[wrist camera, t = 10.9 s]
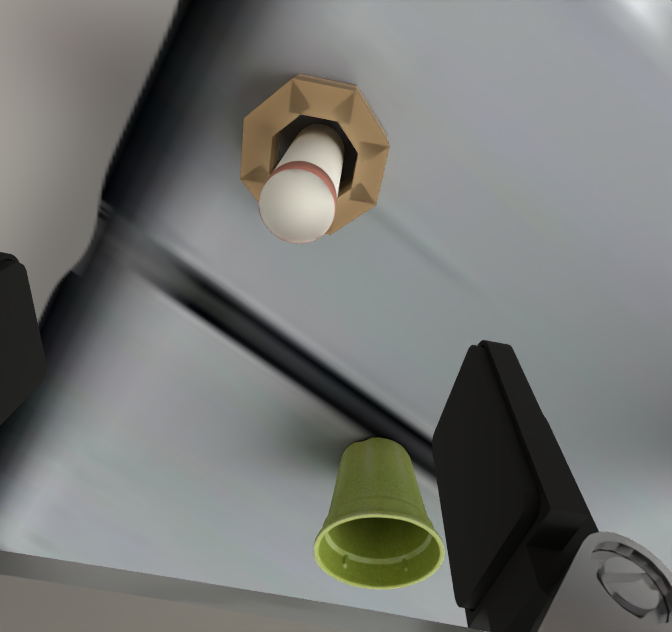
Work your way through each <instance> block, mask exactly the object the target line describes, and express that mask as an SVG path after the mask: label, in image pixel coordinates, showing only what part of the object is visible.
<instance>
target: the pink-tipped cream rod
mask: <svg viewBox="0 0 672 632" xmlns="http://www.w3.org/2000/svg"><path fill="white" fill-rule="evenodd" d="M343 159H344V145H343V142H342V139H341V138H340V136H339V135H338V133H337V132H336V131H335V130H333V129H332V128H330V127H328V126H326V125H322V124H314V125H310V126H307V127H305V128H304V129H303V130H301V131H300V133H299V134H298V135H297V137H296V138H295V140H294V141H293V143H292V144H291V146H290V147H289V149H288V150H287V152H286V153H285V155H284V156H283V158H282V159H281V161H280V162H279V164H278V165H277V167H276V168H275V170H274V171H273V172H272V174H271V175H270V176H269V178H268V179H267V181H266V182H265V184H264V186H263V187H262V190H261V192H260V196H259V211H260V215H261V218H262V220H263V222H264V224H265V225H266V227H267V228H268V229H269V230H270V231H271V232H272V233H273V234H274V235H275V236H277V237H278V238H280V239H282V240H284V241H287V242H291V243H308V242H312V241H314V240H316V239H318V238H320V237H321V236H322V235H324V234H325V233H326V232H327V230H328V229H329V228H330V226H331V224H332V222H333V220H334V216H335V210H336V204H337V195H338V189H339V183H340V177H341V171H342V165H343Z"/></svg>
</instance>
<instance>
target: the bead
mask: <svg viewBox="0 0 672 632" xmlns="http://www.w3.org/2000/svg"><path fill="white" fill-rule="evenodd" d="M301 114H302V115H307V116H312V117H317V118H322V119H327V120H332V121H338V123H339V124H340V126H341V127H342V129H343V131H344V132H345V134H346V135H347V137H348V138H349V140H350V141H351V143H352V144H353V146H354V148H355V149H356V151H357V154H356V160H355V165H354V170H353V174H352V175H351V176H349V177H348V178H346V179H345V180H344V181H342V182H341V183H339V189H338V195H337V204H336V210H335V216H334V220H333V222H332V224H331V226H330V228H329V229H328V230H327V232H326V233H325V234H328V235H331V234H332V233H334V232H335V231H337V230H338V229H340V228H342V227H343V226H345V225H346V224H348V223H349V222H351V221H352V220H354V219H355V218H357V217H359V216H360V215H362V214H363V213H365V212H366V211H368V210H369V209H371V208H372V207H374V206H375V205H376V204H377V200H378V195H379V191H380V186H381V182H382V178H383V173H384V169H385V164H386V160H387V156H388V151H389V142H388V138H387V135H386V133H385V131H384V130H383V128H382V126H381V125H380V123H379V121H378V120H377V118H376V116H375V115H374V113H373V112H372V110H371V108H370V107H369V105H368V103H367V102H366V100H365V98H364V97H363V95H362V93H361V92H360V90H359V88H358V87H357V85H353V84H348V83H343V82H338V81H333V80H328V79H323V78H318V77H313V76H308V75H303V74H299V75H297V76H295V77H294V78H292V79H291V80H290V81H289V82H287V83H286V84H285V85H284V86H282V87H281V88H280V89H279V90H278V91H276V92H275V93H274V94H273V95H272V96H270V97H269V98H268V99H267V100H265V101H264V102H263V103H262V104H261V105H259V106H258V107H257V108H256V109H255V110H253V111H252V112H251V113H250V114H248V115H247V116H246V117H245V118H244V124H243V141H242V158H241V175H240V180H241V181H242V182H243V183H244V185H245V186H246V187H247V189H248V190H249V191H250V192H251V194H252V195H253V196H254V197H255V199H256V200H257V201H258V202H259V196H260V192H261V190H262V187H263V186H264V184H265V182H266V181H267V179H268V178H269V176H270V175H271V174H272V172H273V171H274V170H275V168H276V167H277V165H278V164H279V161H278V154H279V144H280V134H281V130H282V129H283V128H284V127H285V126H287V125H288V124H289V123H290V122H292V121H293V120H294V119H296V118H297V117H298V116H299V115H301Z"/></svg>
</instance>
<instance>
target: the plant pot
mask: <svg viewBox="0 0 672 632" xmlns="http://www.w3.org/2000/svg"><path fill="white" fill-rule="evenodd" d="M313 551H314V557H315V560H316V562H317V563H318V565H319V566H320V568H321V569H322V570H323V571H324V572H326V573H327V574H328V575H330V576H331V577H333V578H334V579H336V580H339V581H341V582H344V583H346V584H348V585H352V586H356V587H362V588H367V589H395V588H401V587H406V586H409V585H412V584H415V583H417V582H420V581H422V580H424V579H426V578H428V577H430V576H431V575H432V574H433V573H435V571H436V570H437V569H438V568H439V567H440V565H441V564H442V561H443V559H444V554H445V551H444V545H443V542H442V539H441V537H440V536H439V534H438V533H437V532H436V531H435V530H434V527H433V525H432V522H431V521H430V519H429V518H428V517H427V514H426V510H425V507H424V504H423V501H422V497H421V494H420V491H419V488H418V484H417V481H416V477H415V474H414V470H413V467H412V463H411V459H410V457H409V455H408V453H407V452H406V450H405V449H404V448H403V447H402V446H401V445H400V444H398V443H396V442H394V441H392V440H389V439H385V438H370V439H368V440H366V441H362V442H354V443H353V444H351V445H350V446H348V447H347V449H346V450H345V451H344V453H343V454H342V457H341V462H340V466H339V471H338V475H337V480H336V485H335V489H334V493H333V497H332V502H331V506H330V510H329V514H328V516H327V518H326V519H325V522H324V524H323V528H322V529H321V530H320V532H319V533H318V535H317V537H316V539H315V542H314V549H313Z"/></svg>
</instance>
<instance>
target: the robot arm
mask: <svg viewBox="0 0 672 632" xmlns="http://www.w3.org/2000/svg"><path fill="white" fill-rule="evenodd" d="M46 370H47V365H46V360H45V355H44V351H43V346H42V341H41V337H40V332H39V327H38V323H37V318H36V314H35V309H34V304H33V299H32V295H31V290H30V285H29V281H28V276H27V271H26V269H25V267H24V265H23V264H21V263H19V261H18V259H17V258H16V257H15V256H14V255H12V254H8V253H2V252H0V425H1V424H2V423H3V422H4V421H5V420H6V419H7V418H8V417H9V416H10V415H11V414H12V412H13V411H14V410H15V409H16V408H17V407H18V406H19V405H20V404H21V403H22V402H23V401H24V400H25V399H26V398H27V397H28V396H29V395H30V394H31V393H32V392H33V390H34V389H35V388H36V387H37V386H38V385H39V384H40V383H41V382H42V381H43V379H44V377H45V374H46ZM432 451H433V458H434V464H435V471H436V477H437V484H438V491H439V497H440V504H441V510H442V517H443V523H444V530H445V537H446V543H447V550H448V556H449V563H450V569H451V576H452V582H453V589H454V595H455V600H456V603H457V605H458V606H459V607H462V608H465V612H466V618H467V624H468V628H466V627H461V626H455V625H450V624H444V623H439V622H433V621H428V620H422V619H417V618H411V617H406V616H400V615H395V614H389V613H384V612H378V611H373V610H367V609H361V608H355V607H349V606H343V605H337V604H331V603H325V602H319V601H312V600H306V599H300V598H294V597H288V596H282V595H276V594H270V593H264V592H257V591H251V590H245V589H239V588H233V587H227V586H221V585H215V584H208V583H202V582H196V581H190V580H184V579H177V578H171V577H165V576H158V575H152V574H146V573H139V572H133V571H127V570H121V569H114V568H108V567H102V566H95V565H89V564H83V563H76V562H70V561H63V560H57V559H51V558H44V557H38V556H32V555H25V554H19V553H13V552H6V551H0V632H484V631H487V632H672V572H671V571H670V570H669V569H668V568H667V567H666V566H665V565H664V564H663V563H662V561H661V560H660V559H658V558H657V557H656V556H655V555H653V554H652V553H651V552H650V551H649V550H647V549H646V548H645V547H643V546H642V545H640V544H638V543H636V542H635V541H633V540H631V539H629V538H627V537H624V536H621V535H619V534H616V533H611V532H599V531H598V529H597V527H596V524H595V522H594V520H593V518H592V516H591V514H590V511H589V509H588V507H587V505H586V503H585V501H584V499H583V496H582V494H581V492H580V490H579V488H578V486H577V484H576V481H575V479H574V477H573V475H572V473H571V471H570V468H569V466H568V464H567V462H566V460H565V458H564V456H563V453H562V451H561V449H560V447H559V445H558V443H557V441H556V438H555V436H554V434H553V432H552V430H551V428H550V425H549V423H548V421H547V420H546V418H545V417H544V415H543V413H542V411H541V409H540V407H539V405H538V403H537V400H536V398H535V396H534V394H533V392H532V390H531V387H530V385H529V383H528V381H527V379H526V377H525V374H524V372H523V370H522V368H521V366H520V364H519V361H518V359H517V357H516V355H515V353H514V350H513V348H512V347H511V346H510V345H508V344H502V343H497V342H491V341H486V340H482V341H481V342H480V343H479V344H478V346H476V345H472V346H470V348H469V349H468V351H467V354H466V356H465V359H464V361H463V364H462V366H461V368H460V371H459V373H458V376H457V378H456V381H455V383H454V386H453V388H452V390H451V393H450V395H449V398H448V400H447V403H446V405H445V407H444V410H443V412H442V415H441V417H440V420H439V422H438V425H437V427H436V429H435V432H434V435H433V440H432ZM480 630H481V631H480Z"/></svg>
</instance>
